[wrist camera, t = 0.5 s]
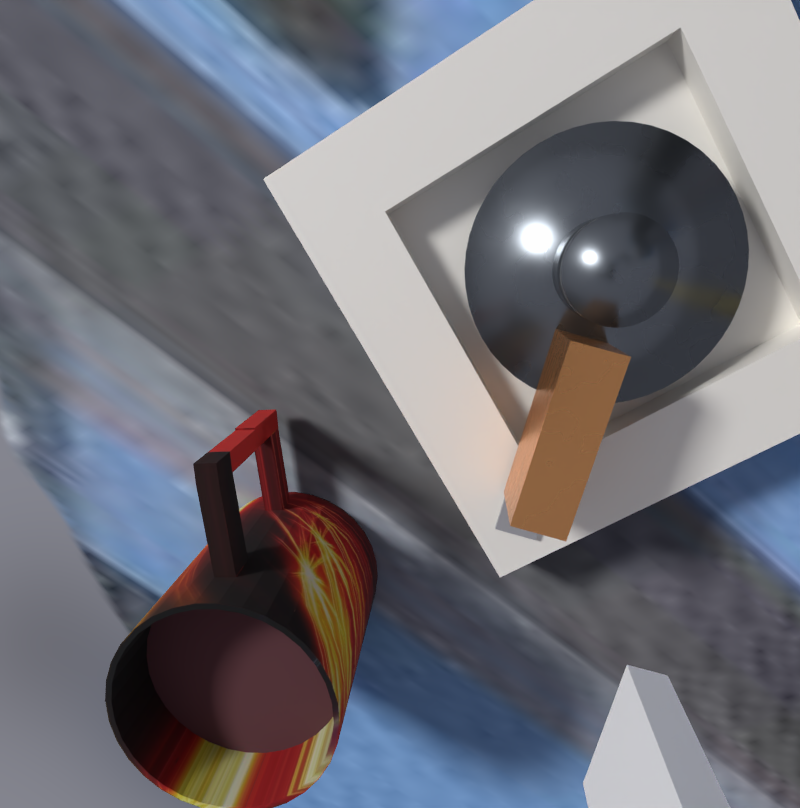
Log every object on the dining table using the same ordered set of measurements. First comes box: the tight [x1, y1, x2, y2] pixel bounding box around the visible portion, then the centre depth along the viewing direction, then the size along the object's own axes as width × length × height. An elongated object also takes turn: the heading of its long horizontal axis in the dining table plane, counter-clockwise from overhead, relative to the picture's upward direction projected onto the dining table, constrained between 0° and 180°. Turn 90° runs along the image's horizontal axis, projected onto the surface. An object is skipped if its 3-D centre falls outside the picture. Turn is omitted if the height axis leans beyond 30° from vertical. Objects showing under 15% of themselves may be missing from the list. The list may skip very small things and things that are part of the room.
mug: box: [105, 410, 377, 808], centre depth 31 cm, size 10×14×12 cm
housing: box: [263, 0, 800, 577], centre depth 28 cm, size 22×22×9 cm
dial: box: [464, 121, 749, 541], centre depth 28 cm, size 17×12×6 cm
